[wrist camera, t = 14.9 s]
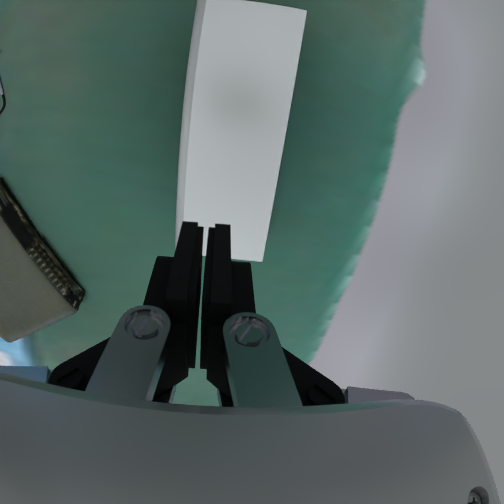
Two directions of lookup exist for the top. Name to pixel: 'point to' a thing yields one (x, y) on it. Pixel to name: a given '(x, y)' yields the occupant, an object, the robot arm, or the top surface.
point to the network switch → (30, 277)
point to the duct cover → (236, 118)
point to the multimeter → (0, 91)
